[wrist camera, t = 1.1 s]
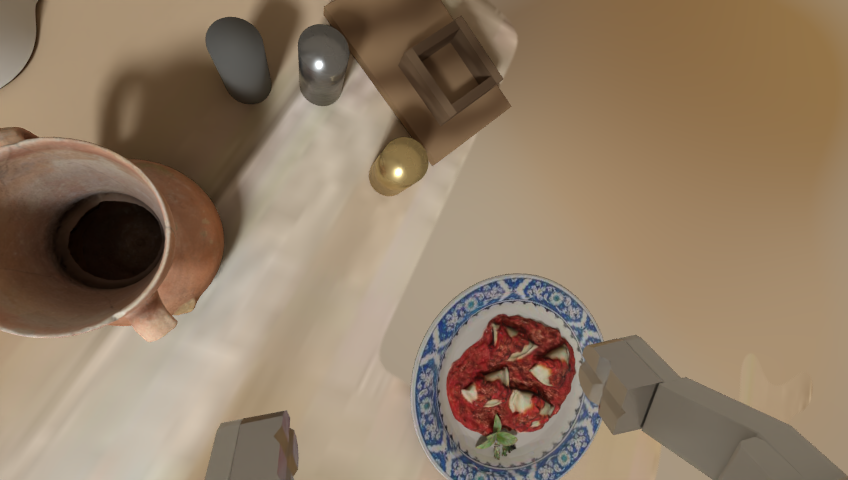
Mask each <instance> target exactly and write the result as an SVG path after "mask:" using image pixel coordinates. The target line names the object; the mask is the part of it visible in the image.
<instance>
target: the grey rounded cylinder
mask: <svg viewBox="0 0 848 480" xmlns="http://www.w3.org/2000/svg"><path fill="white" fill-rule="evenodd" d="M206 46H207V49H208V52H209V54H210V56H211V58H212V60H213V62H214V64H215V66H216V68H217V70H218V72H219V74H220V76H221V78H222V80H223V83H224V85H225V87H226V89H227V91H228V92H229V94H230V95H231V96H232V97H233V98H234V99H236V100H237V101H239V102H242V103H245V104H256V103H259V102H261V101H263V100H264V99H266V98H267V96H268V95H269V93H270V91H271V79H270V74H269V69H268V64H267V60H266V55H265V50H264V45H263V40H262V37H261V35H260V33H259V32H258V30H257V29H256V28H255V27H254V26H253V25H252V24H250V23H249V22H247V21H245V20H243V19H240V18H236V17H225V18H221V19H219V20H217V21H215V22H214V23H213V24H212V25H211V26H210V27H209V29H208V31H207V33H206Z"/></svg>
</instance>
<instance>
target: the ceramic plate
mask: <svg viewBox="0 0 848 480" xmlns="http://www.w3.org/2000/svg"><path fill="white" fill-rule="evenodd" d="M599 342H604V340H603V337H602V334H601V332H600V329H599V327H598V325H597V324H596V322H595V320H594V318H593V316H592V315H591V313H590V312H589V310H588V309H587V307H586V306H585V305H584V304H583V303H582V302H581V301H580V300H579V299H578V298H577V297H576V296H575V295H574V294H573V293H571V292H570V291H569V290H567V289H566V288H565V287H563V286H562V285H560V284H558V283H556V282H554V281H552V280H549V279H547V278H544V277H540V276H537V275H530V274H518V273H517V274H505V275H500V276H495V277H492V278H488V279H486V280H483V281H481V282H478V283H476V284H475V285H473V286H471V287H469V288H467V289H466V290H464V291H463V292H461V293H460V294H459V295H458V296H456V297H455V298H454V299H453V300H452V301H451V302H450V303H449V304H448V305H447V306H445V307H444V309H443V310H442V311H441V312H440V314H439V315H438V316H437V317H436V318H435V320H434V321H433V323H432V324H431V326H430V328H429V329H428V331H427V333H426V335H425V336H424V339H423V341H422V343H421V345H420V347H419V351H418V353H417V356H416V359H415V364H414V367H413V372H412V379H411V392H410V397H411V413H412V417H413V422H414V426H415V430H416V433H417V436H418V439H419V442H420V444H421V446H422V448H423V450H424V452H425V454H426V455H427V457H428V459H429V460H430V462H431V463H432V464H433V465H434V467H435V468H436V469H437V470H438V471H439V472H440V473H441V474H442V475H443V477H445V478H446V479H447V480H559V479H560V478H562V477H563V476H564V475H565V474H567V473H568V472H569V471H570V470H571V469H572V468H573V467H574V466H575V465H576V464H577V463H578V461H579V460H580V459H581V457H582V456H583V455H584V454H585V452H586V451H587V449H588V448H589V446H590V445H591V443H592V441H593V439H594V437H595V435H596V433H597V431H598V429H599V427H600V425H601V422H602V418H601V417H600V416H599V414H598V407H599V406H598V405H597V404H595V403H593V402H592V401H590V400H589V399H588V398H587V396H586V395H585V393H584V392H583V390H582V387H581V385H580V381H579V376H578V374H579V368H580V366H581V364H582V363H583V362H584V361H585V358H584V357H583V356H582V354H583V350H584V348H585V347H586V346H587V345H591V344H595V343H599Z"/></svg>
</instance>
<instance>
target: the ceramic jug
mask: <svg viewBox="0 0 848 480" xmlns="http://www.w3.org/2000/svg"><path fill="white" fill-rule="evenodd" d="M223 250H224V233H223V227H222V223H221V220H220V217H219V214H218V212H217V210H216V208H215V206H214V204H213V203H212V201H211V199H210V198H209V197H208V195H207V194H206V193H205V192H204V191H203V190H202V189H201V188H200V187H199V186H198V185H197V184H196V183H195V182H194V181H192V180H191V179H190V178H188V177H187V176H185V175H184V174H182V173H180V172H178V171H177V170H175V169H172V168H170V167H168V166H165V165H162V164H159V163H156V162H151V161H146V160H139V159H126V158H125V157H123V156H121V155H119V154H118V153H116V152H114V151H112V150H110V149H107V148H105V147H102V146H99V145H96V144H93V143H90V142H86V141H82V140H76V139H70V138H61V137H42V138H39V137H37V136H36V135H34V134H32V133H31V132H29V131H27V130H25V129H23V128H19V127H7V128H0V330H2V331H4V332H7V333H11V334H15V335H20V336H25V337H35V338H60V337H67V336H74V335H78V334H82V333H86V332H90V331H93V330H96V329H99V328H101V327H104V326H106V325H114V326H131V325H132V326H133V328H134V330H135V331H136V332H137V333H138V334H140V336H141V337H143V338H144V339H145V340H146V341H148V342H152V341H156V340H158V339H160V338H162V337H163V336H165V335H166V334H167V333H168V332H170V331H171V330H172V329H174V328H175V327H176V325H177V320H176V319H175V318H174V317H173V316H172V315H173V314H174V315H180V314H183V313H188V312H191V311H192V310H193V309H194V308H195V305H196V303H197V301H198V299H199V298H200V296H201V295H202V293H203V292H204V291H205V290H206V289H207V288H208V286H209V285H210V284H211V282H212V280H213V279H214V277H215V275H216V273H217V271H218V269H219V266H220V263H221V260H222V256H223Z"/></svg>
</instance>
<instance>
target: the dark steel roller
mask: <svg viewBox="0 0 848 480" xmlns="http://www.w3.org/2000/svg"><path fill="white" fill-rule="evenodd" d="M298 58H299V83H300V90H301V92H302V94H303V96H304V97H305V98H306V99H307V100H308V101H309V102H311V103H313V104H315V105H318V106H327V105H331V104H333V103H334V102H336V101H337V100H338V98H339V97H340V95H341V91H342V86H343V82H344V77H345V73H346V68H347V63H348V59H349V46H348V43H347V41H346V39H345V38H344V36H343V35H342V34H341V33H340V32H339V31H338V30H336V29H335V28H333V27H331V26H328V25H323V24H317V25H313V26H310V27H308V28H307V29H305V30H304V31H303V33H302V34H301V36H300V38H299V41H298Z"/></svg>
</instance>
